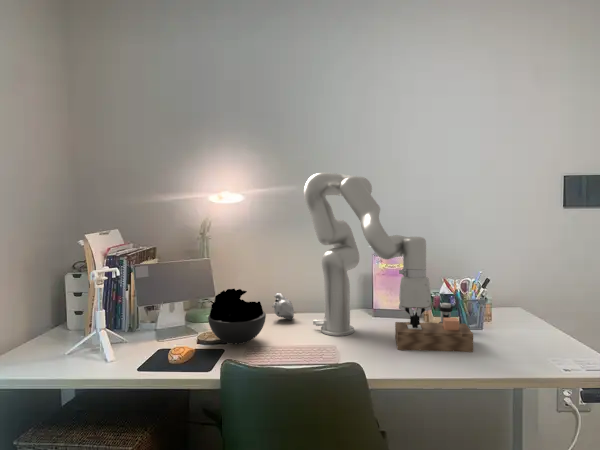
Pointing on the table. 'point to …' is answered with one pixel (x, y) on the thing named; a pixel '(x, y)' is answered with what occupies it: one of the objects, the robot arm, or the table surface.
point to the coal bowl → (235, 317)
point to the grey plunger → (414, 327)
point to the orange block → (450, 324)
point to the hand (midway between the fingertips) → (414, 326)
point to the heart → (283, 307)
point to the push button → (445, 310)
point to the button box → (433, 338)
